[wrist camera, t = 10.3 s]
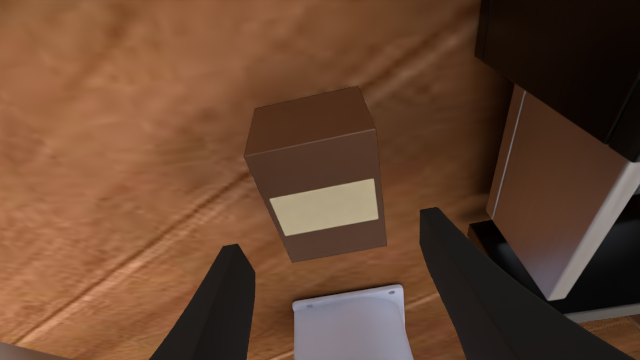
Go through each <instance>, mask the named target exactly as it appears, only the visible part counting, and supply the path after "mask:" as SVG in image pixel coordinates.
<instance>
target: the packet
mask: <svg viewBox="0 0 640 360" xmlns="http://www.w3.org/2000/svg"><path fill="white" fill-rule="evenodd" d="M244 158H245V160H246V163H247V165H248V167H249V169H250V171H251V174H252V176H253V178H254V180H255V182H256V185H257V187H258V189H259V191H260V193H261V195H262V198H263V200H264V202H265V204H266V206H267V209H268V211H269V213H270V215H271V217H272V220H273V222H274V224H275V226H276V228H277V231H278V233H279V235H280V237H281V239H282V241H283V244H284V246H285V248H286V250H287V252H288V255H289V257H290V259H291V261H292V263H294V262H299V261H305V260H311V259H316V258H322V257H328V256H333V255H339V254H345V253H350V252H356V251H361V250H367V249H373V248H378V247H384V246H387V240H386V229H385V219H384V208H383V198H382V187H381V177H380V166H379V155H378V145H377V134H376V128H375V125H374V123H373V121H372V118H371V116H370V113H369V111H368V109H367V106H366V104H365V101H364V99H363V96H362V94H361V92H360V89H359V87H358V86H354V87H350V88H346V89H341V90H337V91H332V92H328V93H323V94H319V95H314V96H310V97H305V98H301V99H296V100H292V101H287V102H283V103H278V104H274V105H269V106H265V107H260V108H256V109H255V111H254V115H253V119H252V123H251V128H250V132H249V136H248V140H247V145H246V149H245V153H244Z"/></svg>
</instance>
